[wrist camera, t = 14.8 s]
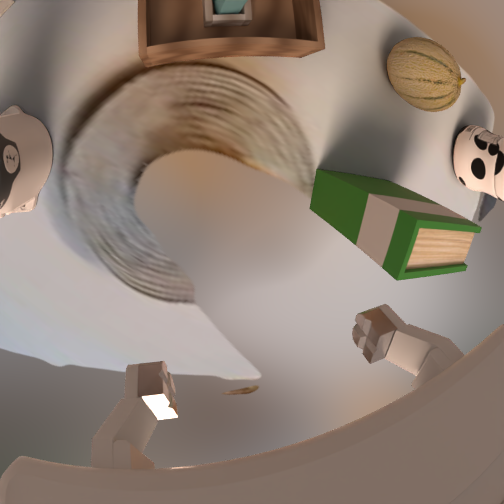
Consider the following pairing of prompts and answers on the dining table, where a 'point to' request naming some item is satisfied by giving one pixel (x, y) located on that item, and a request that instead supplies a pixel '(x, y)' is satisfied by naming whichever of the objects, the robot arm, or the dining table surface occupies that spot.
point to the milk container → (480, 160)
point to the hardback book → (393, 224)
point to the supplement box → (5, 5)
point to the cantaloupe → (424, 74)
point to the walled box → (227, 30)
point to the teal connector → (228, 6)
